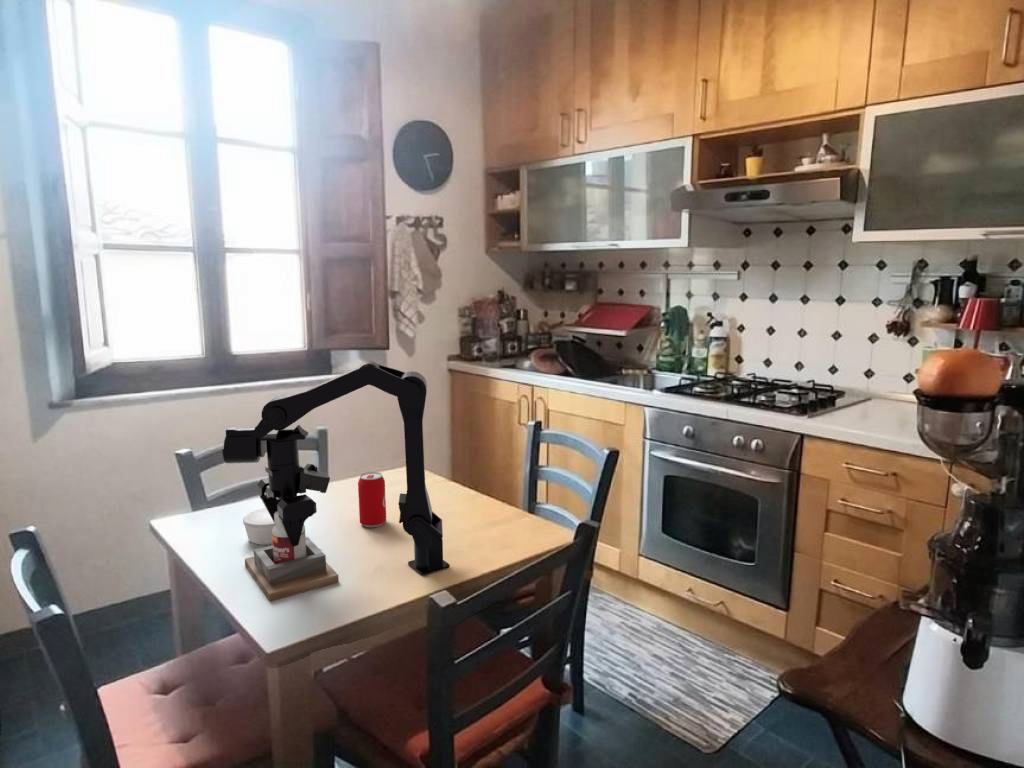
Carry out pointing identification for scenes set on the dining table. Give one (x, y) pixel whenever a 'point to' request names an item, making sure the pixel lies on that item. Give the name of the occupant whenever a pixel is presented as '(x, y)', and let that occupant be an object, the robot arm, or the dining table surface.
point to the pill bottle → (286, 544)
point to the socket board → (290, 572)
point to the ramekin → (259, 527)
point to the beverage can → (372, 499)
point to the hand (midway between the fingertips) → (288, 537)
